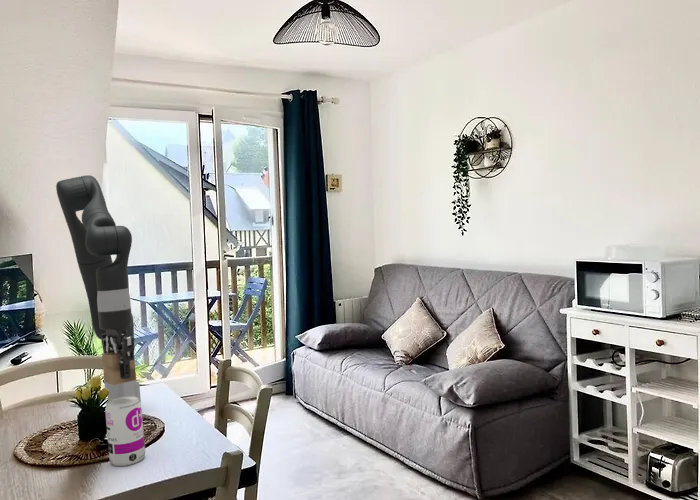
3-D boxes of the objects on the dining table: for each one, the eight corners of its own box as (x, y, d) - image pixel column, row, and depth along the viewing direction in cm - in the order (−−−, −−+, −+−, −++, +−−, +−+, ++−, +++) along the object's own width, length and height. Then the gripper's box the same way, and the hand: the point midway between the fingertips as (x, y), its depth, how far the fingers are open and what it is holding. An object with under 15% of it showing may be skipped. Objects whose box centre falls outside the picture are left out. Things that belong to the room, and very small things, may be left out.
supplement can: (152, 455, 149) (147, 396, 149) (127, 468, 142) (122, 406, 141) (128, 452, 153) (123, 394, 152) (102, 465, 145) (97, 404, 145)
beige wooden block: (126, 376, 150) (123, 349, 150) (136, 379, 146) (133, 351, 146) (104, 381, 146) (102, 353, 146) (114, 385, 142) (111, 355, 142)
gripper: (142, 307, 143) (148, 377, 144) (117, 304, 153) (122, 370, 154) (111, 311, 138) (117, 384, 139) (87, 308, 148) (93, 376, 149)
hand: (120, 376), depth 146 cm, fingers closed on beige wooden block, 5 cm apart
